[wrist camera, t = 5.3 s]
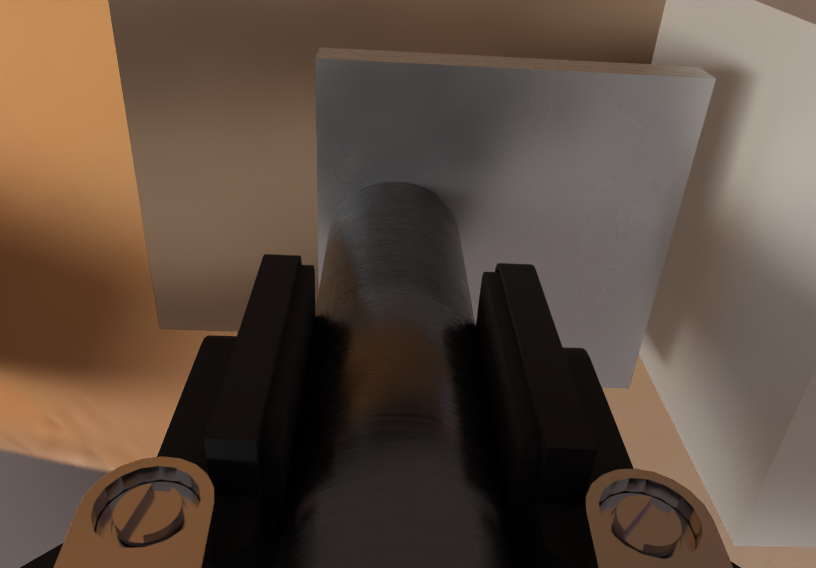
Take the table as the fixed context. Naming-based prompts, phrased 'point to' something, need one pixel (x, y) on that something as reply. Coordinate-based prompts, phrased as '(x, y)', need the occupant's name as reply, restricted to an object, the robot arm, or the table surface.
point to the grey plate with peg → (465, 277)
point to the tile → (745, 268)
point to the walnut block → (290, 115)
